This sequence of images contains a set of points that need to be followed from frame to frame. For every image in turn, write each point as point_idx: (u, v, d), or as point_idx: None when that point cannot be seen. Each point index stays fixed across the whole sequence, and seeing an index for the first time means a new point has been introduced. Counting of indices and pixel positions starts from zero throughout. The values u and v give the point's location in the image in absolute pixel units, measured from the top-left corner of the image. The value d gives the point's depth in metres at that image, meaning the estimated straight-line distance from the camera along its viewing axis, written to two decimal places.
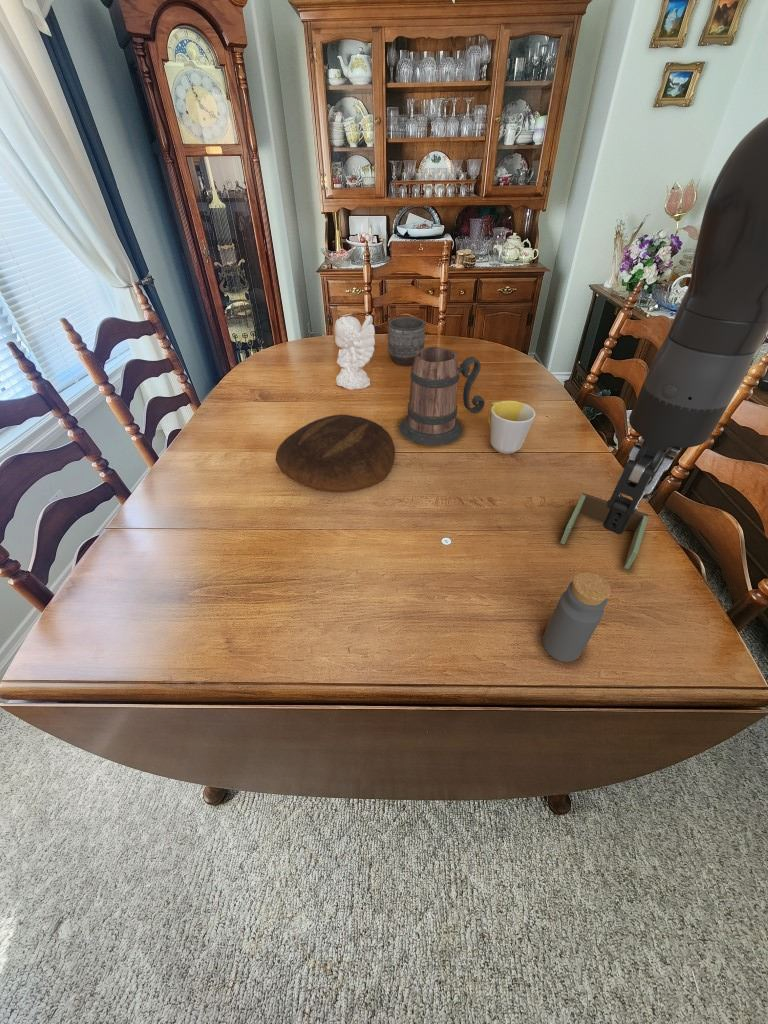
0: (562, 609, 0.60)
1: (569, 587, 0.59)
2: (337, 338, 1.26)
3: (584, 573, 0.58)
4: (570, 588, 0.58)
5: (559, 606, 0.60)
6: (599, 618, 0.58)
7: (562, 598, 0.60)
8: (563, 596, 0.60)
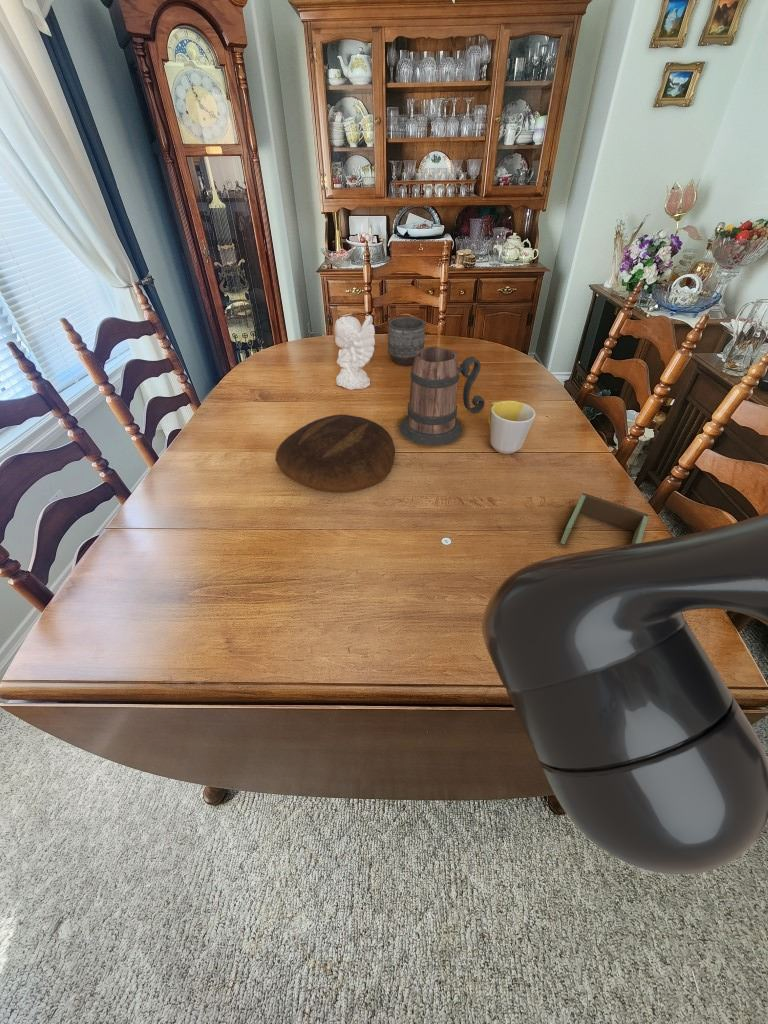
0: None
1: None
2: (337, 338, 1.26)
3: None
4: None
5: None
6: None
7: None
8: None
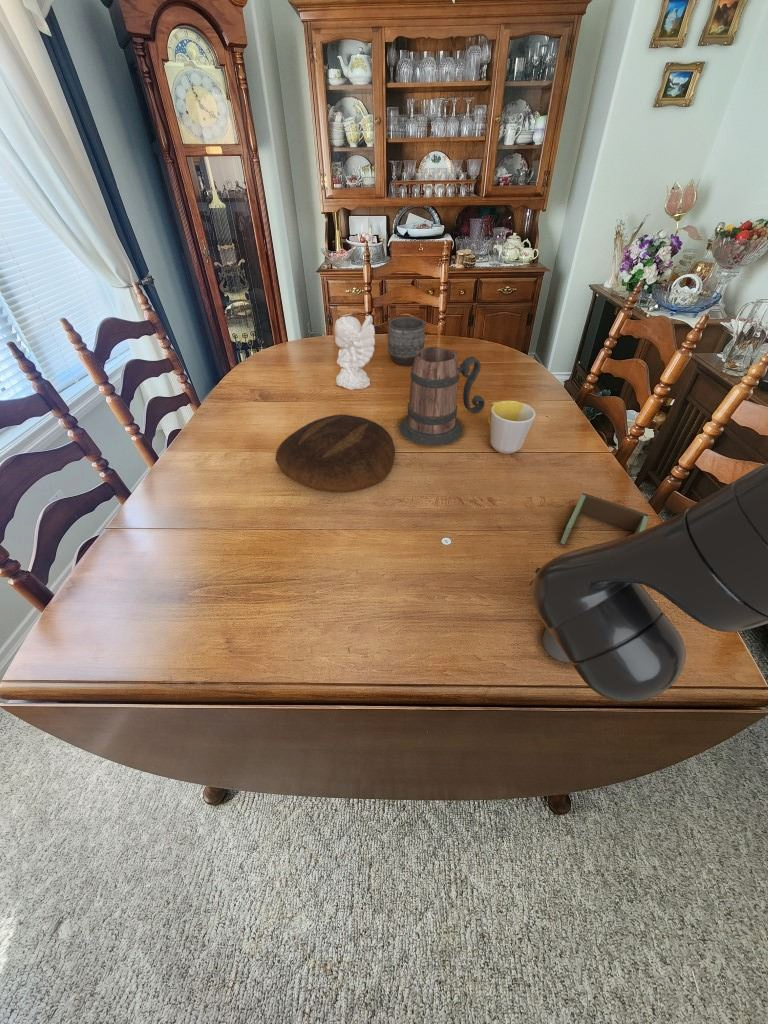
0: None
1: None
2: (337, 338, 1.26)
3: None
4: None
5: None
6: None
7: None
8: None
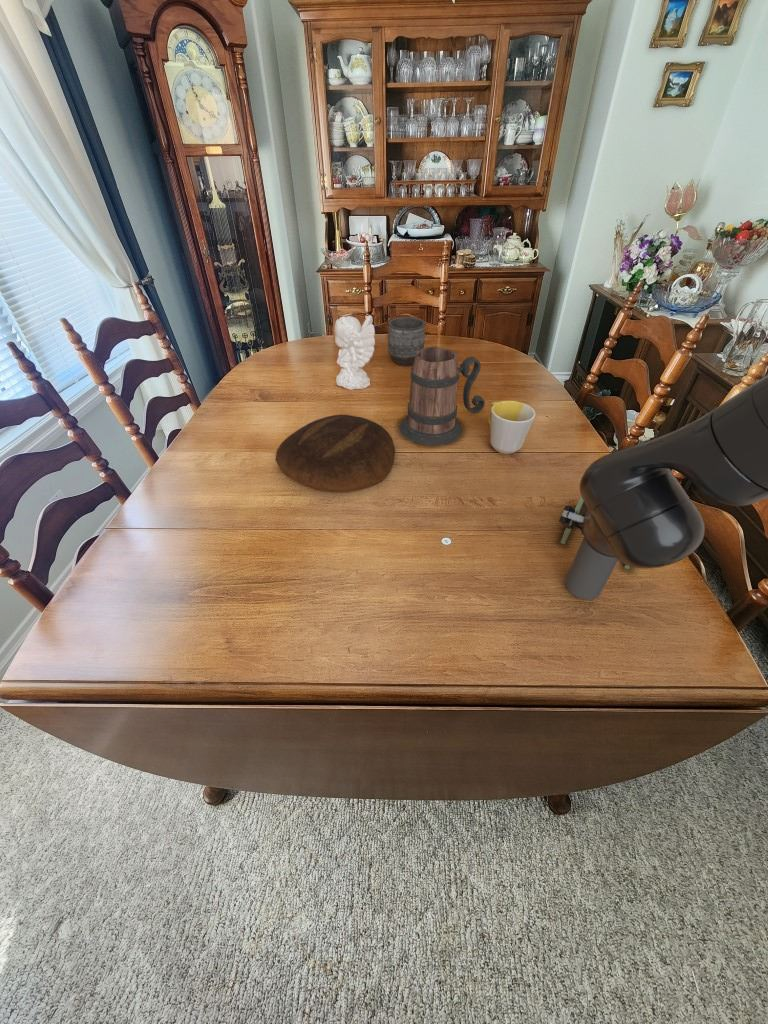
0: (585, 547, 0.66)
1: None
2: (337, 338, 1.26)
3: None
4: None
5: (582, 546, 0.67)
6: None
7: None
8: None
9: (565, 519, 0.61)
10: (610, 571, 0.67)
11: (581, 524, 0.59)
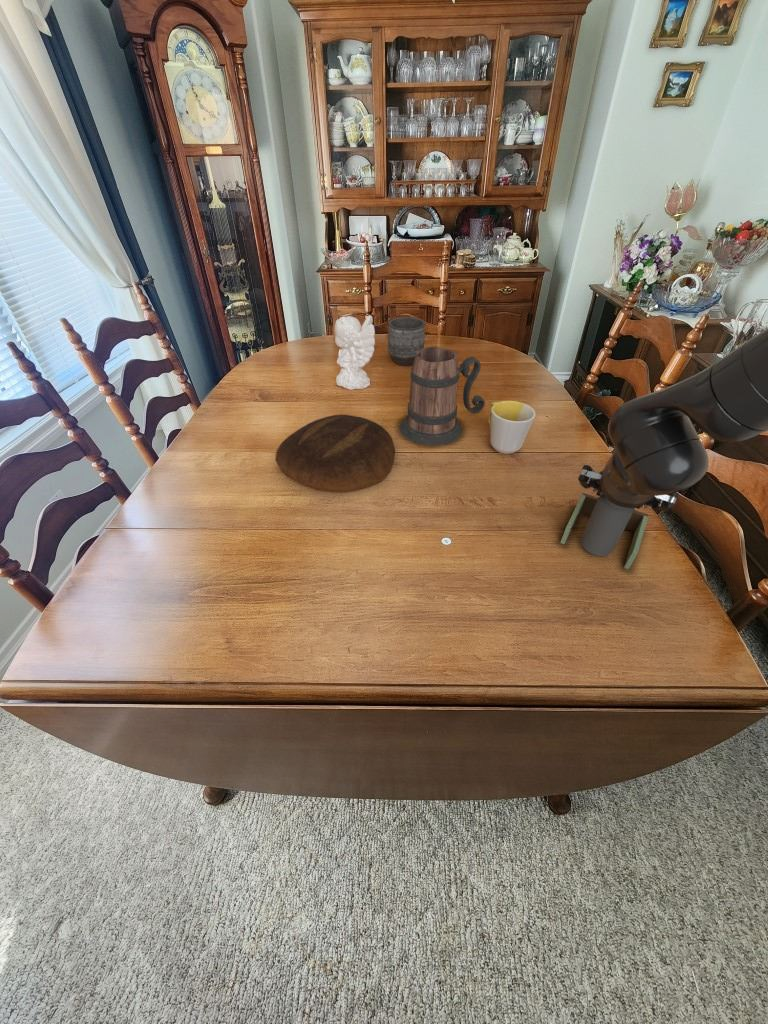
0: (600, 506, 0.74)
1: None
2: (337, 338, 1.26)
3: None
4: None
5: (597, 505, 0.74)
6: (631, 511, 0.72)
7: (600, 498, 0.74)
8: (601, 497, 0.74)
9: (584, 477, 0.68)
10: (623, 528, 0.74)
11: (598, 480, 0.66)
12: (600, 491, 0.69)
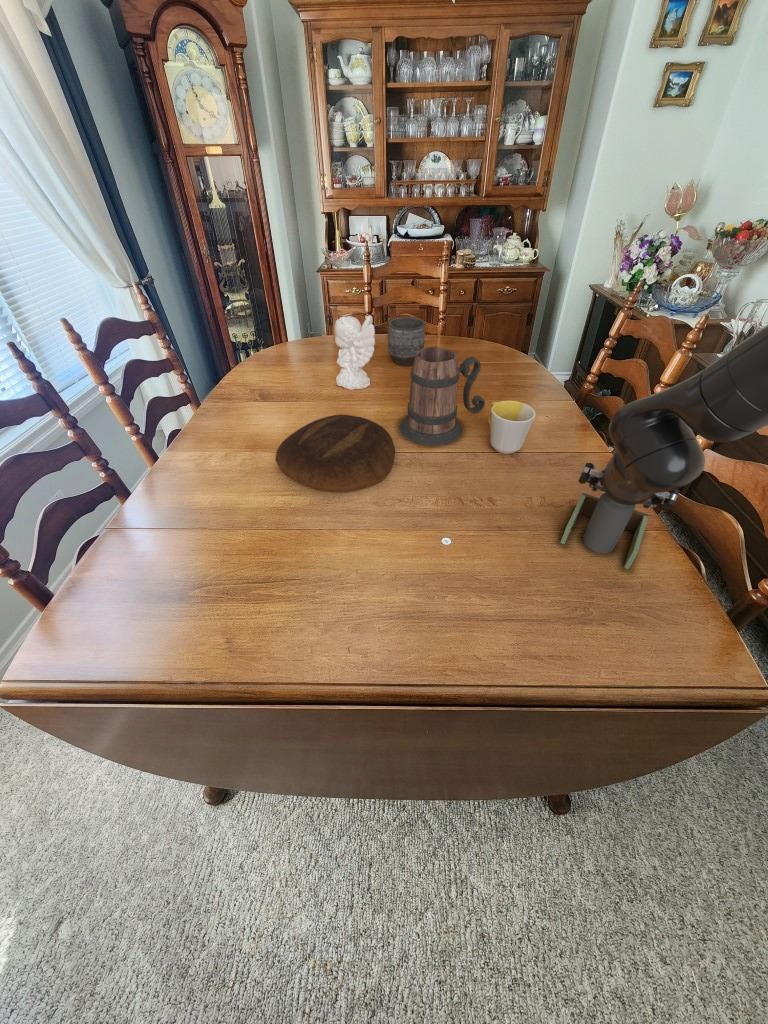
0: (602, 504, 0.76)
1: None
2: (337, 338, 1.26)
3: None
4: None
5: (599, 503, 0.77)
6: (632, 509, 0.74)
7: (602, 497, 0.77)
8: (603, 496, 0.77)
9: (587, 475, 0.69)
10: (624, 526, 0.76)
11: (601, 479, 0.68)
12: (599, 488, 0.71)
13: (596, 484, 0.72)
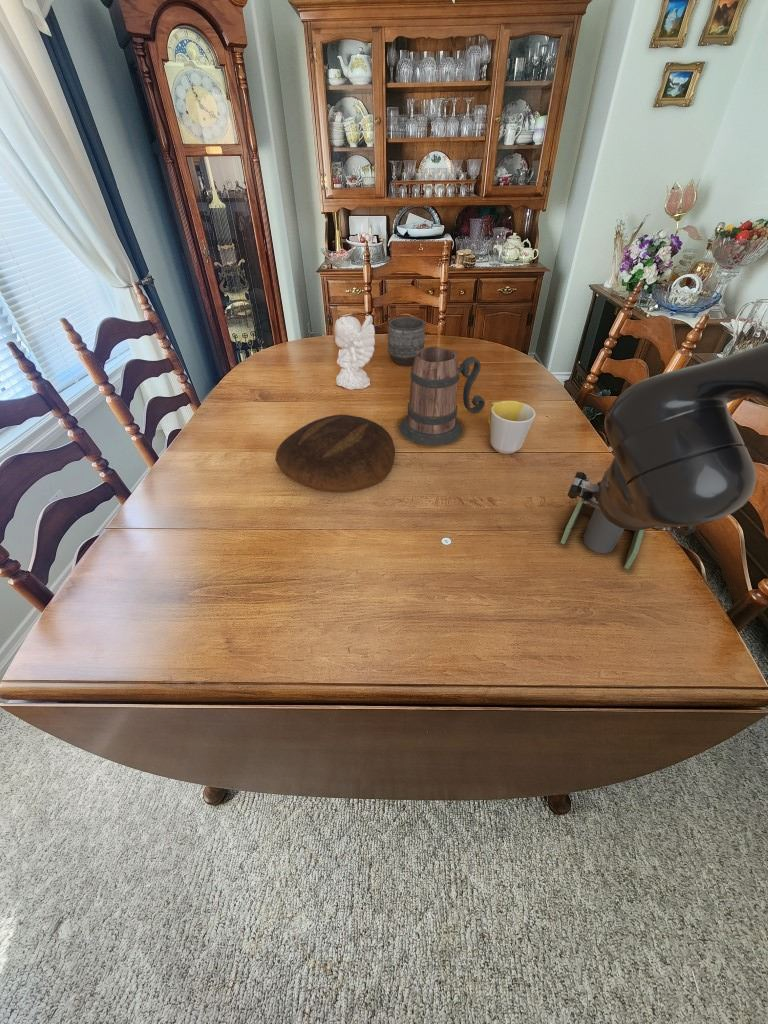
0: None
1: None
2: (337, 338, 1.26)
3: None
4: None
5: None
6: None
7: None
8: None
9: (578, 488, 0.52)
10: None
11: (596, 494, 0.51)
12: (594, 505, 0.54)
13: (590, 500, 0.55)
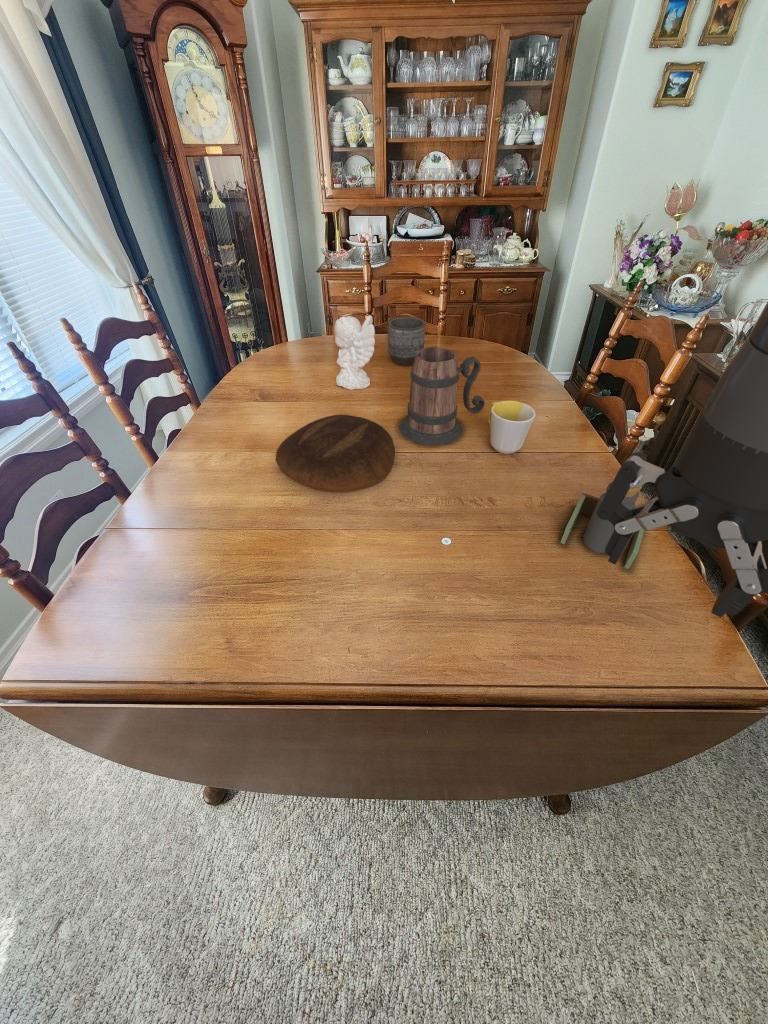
0: None
1: (608, 486, 0.75)
2: (337, 338, 1.26)
3: None
4: (609, 486, 0.75)
5: (599, 503, 0.77)
6: None
7: (602, 497, 0.77)
8: (603, 496, 0.77)
9: (635, 465, 0.34)
10: None
11: (665, 473, 0.32)
12: (647, 514, 0.34)
13: (637, 515, 0.35)
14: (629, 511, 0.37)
